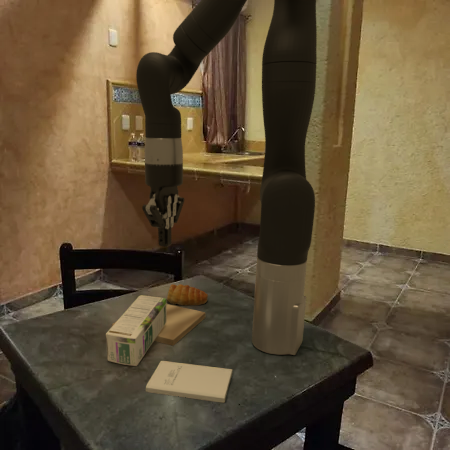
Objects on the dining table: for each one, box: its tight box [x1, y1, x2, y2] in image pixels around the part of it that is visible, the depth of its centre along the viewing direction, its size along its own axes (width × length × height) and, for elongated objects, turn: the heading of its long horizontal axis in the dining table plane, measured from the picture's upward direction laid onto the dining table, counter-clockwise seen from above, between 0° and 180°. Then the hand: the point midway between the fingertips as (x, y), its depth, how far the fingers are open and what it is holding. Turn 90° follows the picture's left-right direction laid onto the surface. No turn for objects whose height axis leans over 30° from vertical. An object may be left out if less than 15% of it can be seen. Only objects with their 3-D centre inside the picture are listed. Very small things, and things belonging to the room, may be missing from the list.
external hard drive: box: [145, 360, 234, 404], centre depth 71 cm, size 2×8×12 cm
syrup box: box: [105, 294, 167, 367], centre depth 81 cm, size 6×6×14 cm
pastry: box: [166, 283, 209, 306], centre depth 103 cm, size 9×7×4 cm
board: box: [111, 303, 207, 346], centre depth 91 cm, size 14×14×1 cm
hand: (165, 245), depth 90 cm, fingers closed
